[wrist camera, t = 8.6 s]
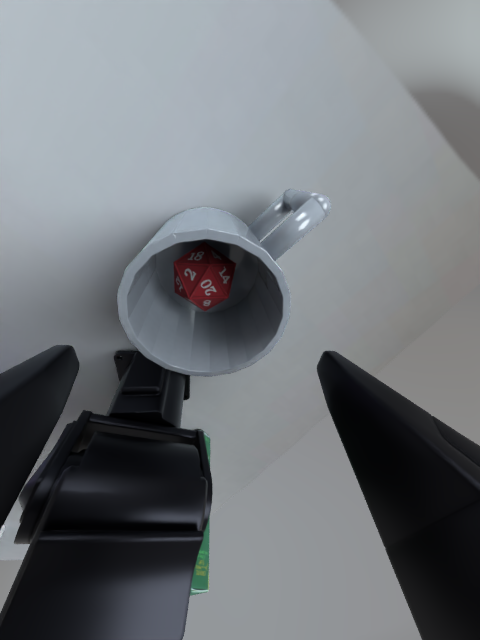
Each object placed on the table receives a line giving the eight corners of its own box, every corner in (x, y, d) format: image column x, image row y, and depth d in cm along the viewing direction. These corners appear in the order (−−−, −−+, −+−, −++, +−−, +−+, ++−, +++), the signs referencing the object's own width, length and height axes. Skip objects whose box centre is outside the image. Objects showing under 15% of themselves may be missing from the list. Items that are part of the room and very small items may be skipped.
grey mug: (209, 328, 19) (210, 394, 13) (128, 265, 15) (79, 320, 10) (318, 238, 16) (380, 273, 10) (249, 128, 12) (287, 85, 6)
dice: (243, 276, 16) (252, 302, 13) (191, 300, 17) (187, 330, 14) (221, 227, 14) (225, 243, 11) (162, 257, 15) (149, 280, 12)
